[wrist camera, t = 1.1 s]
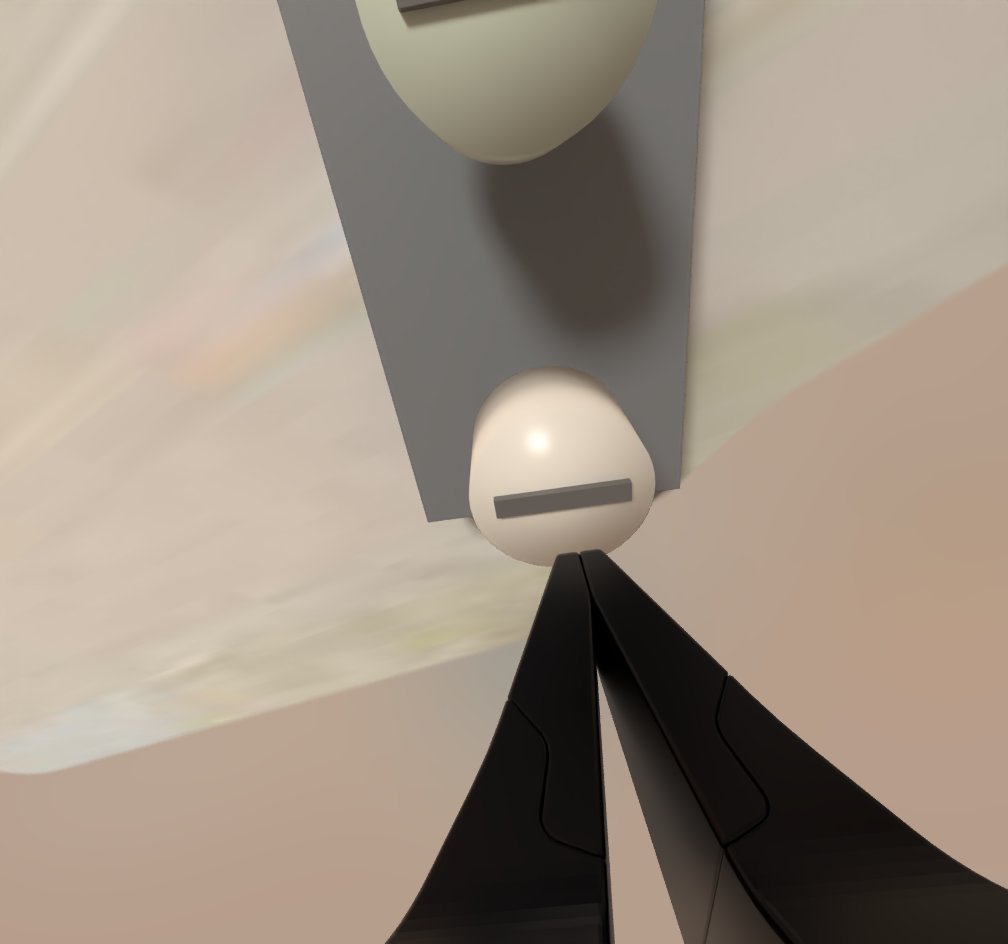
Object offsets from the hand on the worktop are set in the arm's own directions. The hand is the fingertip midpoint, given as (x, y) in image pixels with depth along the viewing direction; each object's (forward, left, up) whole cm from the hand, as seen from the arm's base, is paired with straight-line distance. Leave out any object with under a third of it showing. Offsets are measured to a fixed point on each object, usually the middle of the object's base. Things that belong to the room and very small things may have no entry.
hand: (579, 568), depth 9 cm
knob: (0, 0, -9) cm, 9 cm away
